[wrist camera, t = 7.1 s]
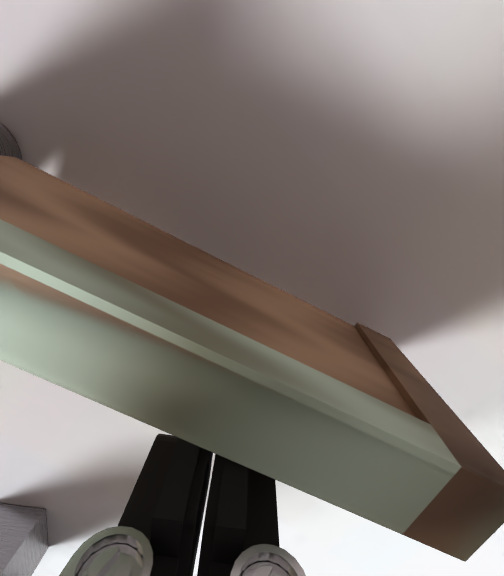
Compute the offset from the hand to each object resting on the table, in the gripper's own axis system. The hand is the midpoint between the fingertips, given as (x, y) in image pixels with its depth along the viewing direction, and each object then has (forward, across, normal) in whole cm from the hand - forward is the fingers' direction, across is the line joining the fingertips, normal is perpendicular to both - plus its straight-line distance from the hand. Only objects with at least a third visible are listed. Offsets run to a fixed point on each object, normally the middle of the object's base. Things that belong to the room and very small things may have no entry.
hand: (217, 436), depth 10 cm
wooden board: (+5, +1, -4) cm, 6 cm away
